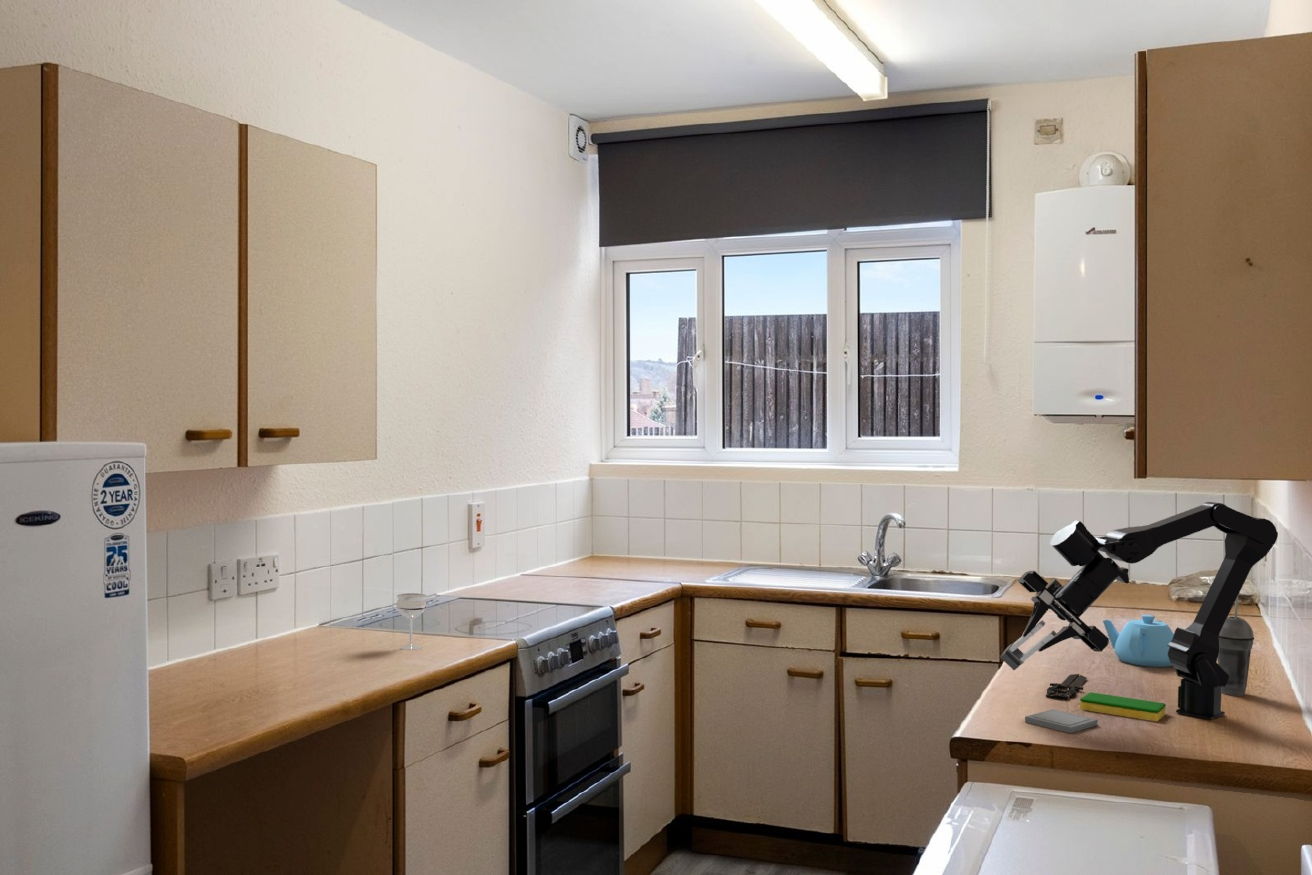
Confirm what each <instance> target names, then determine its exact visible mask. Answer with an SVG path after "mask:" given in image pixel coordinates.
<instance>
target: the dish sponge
mask: <svg viewBox="0 0 1312 875" xmlns="http://www.w3.org/2000/svg"><path fill="white" fill-rule="evenodd" d="M1079 701H1080V702H1079V709H1080V710H1083V711H1090V712H1097V713H1103V714H1108V715H1115V716H1121V717H1122V716H1123V717H1127V718H1134V719H1138V720H1139V719H1140V720H1147V721H1151V722H1152V721H1153V722H1158V721H1159V720H1161V719H1162V718H1163V717H1164V716H1165V715H1166V703H1163V702H1158V701H1151V700H1145V699H1138V698H1131V697H1124V696H1118V695H1111V694H1105V693H1104V694H1103V693H1098V692H1092V691H1091V692H1089V693H1087V694H1085V695H1084V696H1082V697H1081V698H1080V699H1079Z"/></svg>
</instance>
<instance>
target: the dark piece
mask: <svg viewBox="0 0 1312 875" xmlns="http://www.w3.org/2000/svg"><path fill="white" fill-rule="evenodd" d="M1087 679H1088V677H1086V676H1084V675H1082V674H1079V673H1073V674H1069V675H1068V676H1067V677H1066V678H1065V679H1064V680H1063V681H1061V682H1060V683H1057V682H1056V683H1055V682H1050V683H1049V687H1047V689H1046V694H1045V698H1046V699H1052V700H1061V701H1069V700H1070V699H1069V696H1070V695H1071V696H1070V698H1071V699H1073V698H1074V697H1075V696H1076V695H1077V693H1081V691H1084V686H1083V687H1082V686H1081V685H1083V684H1084V682H1085V681H1086V680H1087ZM1067 688H1068V689H1067Z"/></svg>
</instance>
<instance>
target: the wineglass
mask: <svg viewBox="0 0 1312 875" xmlns="http://www.w3.org/2000/svg"><path fill="white" fill-rule="evenodd" d="M426 596H427V595H426V594H425V593H416V592H415V593H413V592H409V593H399V594H397V595H396V598H397V601H396V603H395V604H396V606H395V607H396V610H397V611H398V613H399V614H400V615H401V616H403V617H404V618H407V621H409V623H408V624H409V643H408V644H405V645H402V646H399V649H401V650H404V651H405V650H406V651H407V650H408V651H409V650H410V651H411V650H412V651H413V650H420V649H421V648H422V646H420V645H417V644H415V643H412V642H413V640H412V639H413V623H414V622H413V621H414V620H415V619H416V618H417V617H420V616H421V615H422V614H423V612H425V610H426V608H427V602H426Z"/></svg>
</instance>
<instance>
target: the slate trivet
mask: <svg viewBox="0 0 1312 875" xmlns="http://www.w3.org/2000/svg"><path fill="white" fill-rule="evenodd" d="M1024 722H1025V723H1028V724H1031V725H1036V726H1040V727H1042V728H1043V727H1045V728H1047V729H1050V730H1051V729H1052V730H1056V731H1061V732H1063V733H1069V734H1072V733H1077V732H1079V731H1082V730H1086V729H1089V728H1092V727H1096V726H1099V723H1098V722H1099V720H1098V719H1096V718H1092V717H1088V716H1084V715H1079V714H1075V713H1070V712H1066V711H1062V710H1057V709H1054V708H1052V709H1049V710H1045V711H1040V712H1038V713H1033V714H1030V715H1026V716H1024Z"/></svg>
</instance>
